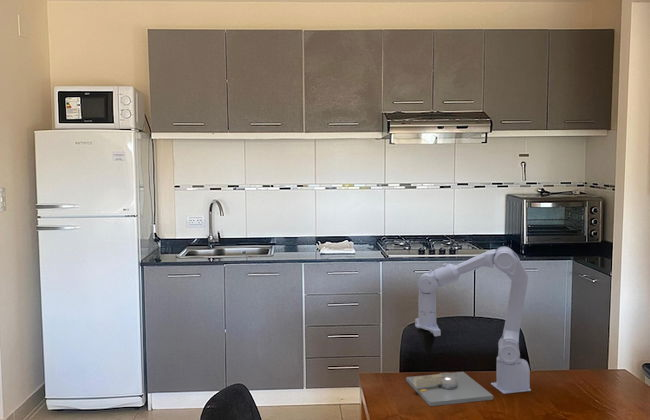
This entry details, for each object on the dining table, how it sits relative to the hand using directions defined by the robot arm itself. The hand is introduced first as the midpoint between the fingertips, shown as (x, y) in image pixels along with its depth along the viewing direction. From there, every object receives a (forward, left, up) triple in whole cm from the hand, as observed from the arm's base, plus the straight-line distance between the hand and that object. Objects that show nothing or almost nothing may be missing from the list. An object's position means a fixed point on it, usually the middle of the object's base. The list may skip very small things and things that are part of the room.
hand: (427, 351), depth 178 cm
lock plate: (-3, +9, -9) cm, 13 cm away
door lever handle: (+1, +9, -8) cm, 12 cm away
